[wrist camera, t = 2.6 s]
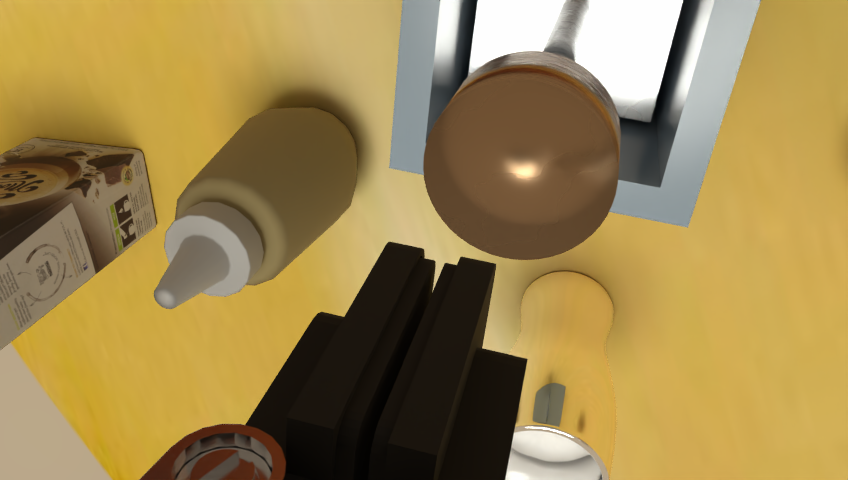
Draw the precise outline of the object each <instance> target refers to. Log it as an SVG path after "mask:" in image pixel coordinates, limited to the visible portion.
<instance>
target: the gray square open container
mask: <svg viewBox="0 0 848 480" xmlns="http://www.w3.org/2000/svg"><path fill="white" fill-rule="evenodd" d="M760 1H761V0H683V2H682V6H681V10H680V13H679V17H678V21H677V24H676V28H675V32H674V36H673V39H672V43H671V47H670V50H669V54H668V58H667V62H666V65H665V69H664V73H663V77H662V80H661V84H660V88H659V91H658V95H657V99H656V103H655V106H654V110H653V114H652V118H651V121H650V122H646V121H640V120H634V119H629V118H623V117H619V121H620V129H621V140H620V158H619V174H618V185H617V191H616V195H615V198H614V201H613V204H612V207H611V209H610V211H609V212H613V213H618V214H623V215H628V216H633V217H638V218H643V219H648V220H653V221H658V222H663V223H668V224H673V225H678V226H683V227H688V226H689V223H690V219H691V216H692V213H693V210H694V207H695V204H696V201H697V198H698V194H699V191H700V188H701V185H702V182H703V179H704V176H705V173H706V170H707V166H708V163H709V160H710V157H711V154H712V151H713V148H714V145H715V142H716V138H717V135H718V132H719V129H720V126H721V123H722V120H723V117H724V113H725V110H726V107H727V104H728V101H729V98H730V95H731V92H732V89H733V85H734V82H735V79H736V76H737V73H738V70H739V67H740V64H741V61H742V57H743V54H744V51H745V48H746V45H747V42H748V39H749V36H750V32H751V29H752V26H753V23H754V20H755V17H756V14H757V11H758V8H759V4H760ZM477 4H478V0H403V2H402V14H401V27H400V39H399V52H398V65H397V77H396V90H395V102H394V115H393V128H392V140H391V153H390V165H389V168H392V169H397V170H402V171H407V172H412V173H417V174H422V175H424V171H423V161H424V152H425V146H426V143H427V140H428V137H429V134H430V132H431V130H432V128H433V126H434V124H435V122H436V121H437V120H438V118H439V117H440V115H441V114H442V112H443V111H444V109H445V108H446V106H447V105H448V104H449V102H450V101H451V99H452V98H453V96H454V95H455V93H456V92H457V91H458V89H459V88H460V86H461V85H462V83H463V82H464V81H465V80H466V79H467V78H468V73H469V65H470V58H471V50H472V42H473V35H474V27H475V19H476V12H477Z"/></svg>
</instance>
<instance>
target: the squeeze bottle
mask: <svg viewBox="0 0 848 480" xmlns="http://www.w3.org/2000/svg"><path fill="white" fill-rule="evenodd" d="M356 180H357V153H356V146H355V141H354V139H353V138H352V136H351V134H350V132H349V130H348V129H347V127H346V126H345V125H344V124H343V123H342V122H341V121H340V120H338V119H337V118H336V117H335V116H334V115H333V114H331V113H328V112H326V111H323V110H321V109H318V108H316V107H308V108H274V109H268V110H266V111H264V112H262V113H260V114H258V115H256V116H254V117H251V118H249V119H248V120H247V122H246V123H245V124H244V125H243V126H242V127H241V128H240V129H239V130H238V131H237V132H236V133H235V134H234V136H233V137H232V138H231V139H230V140H229V141H228V142H227V143H226V144H225V145H224V146H223V147H222V149H221V150H220V151H219V152H218V153H217V154H216V155H215V156H214V157H213V158H212V159H211V160H210V162H209V163H208V164H207V165H206V166H205V167H204V168H203V169H202V170H201V171H200V172H199V173H198V175H197V176H196V177H195V178H194V179H193V180H192V181H191V182H190V183H189V184H188V186H187V187H186V188H185V190H184V191H183V193H182V194H181V195H180V197H179V198H178V200H177V207H176V215H175V220H174V222H173V223H172V224H171V226H170V227H169V229H168V230H167V231H166V236H165V244H164V248H165V251H166V255H167V258H168V261H169V264H170V265H169V267H168V268H167V270H166V272H165V274H164V275H163V277H162V279H161V280H160V282H159V284H158V286H157V287H156V289H155V291H154V298H155V300H156V301H157V303H158V304H159V305H160V306H162V307H164V308H166V309H172V308H175V307H177V306H178V305H180V304H182V303H184V302H185V301H187V300H189V299H190V298H192V297H194V296H196V295H197V294H199V293H201V292H202V293H204V294H207V295H209V296H224V297H226V296H229V295H232V294H234V293H237V292H239V291H240V290H241V289H242V288H243V287H244V286H245V285H257V284H260V283H263V282H266V281H268V280H271V279H273V278H275V277H276V276H277V275H278V274H279V273H280V272H281V271H282V270H283V269H284V268H285V267H287V266H288V265H289V264H290V263H291V262H292V261H293V260H294V259H295V258H296V257H298V256H299V255H300V254H301V253H302V252H303V251H304V250H305V249H306V248H307V247H308V246H310V245H311V244H312V243H313V242H314V241H315V240H316V239H317V238H318V237H319V236H320V235H322V234H323V233H324V232H325V231H326V230H327V229H328V228H329V227H330V226H331V225H333V224H334V223H335V222H336V221H337V220H338V219H339V217H340V216H341V215H342V214H343V213H344V212H345V211H346V210H347V209H348V208H349V207H350V205H351V201H352V198H353V194H354V191H355V187H356Z"/></svg>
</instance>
